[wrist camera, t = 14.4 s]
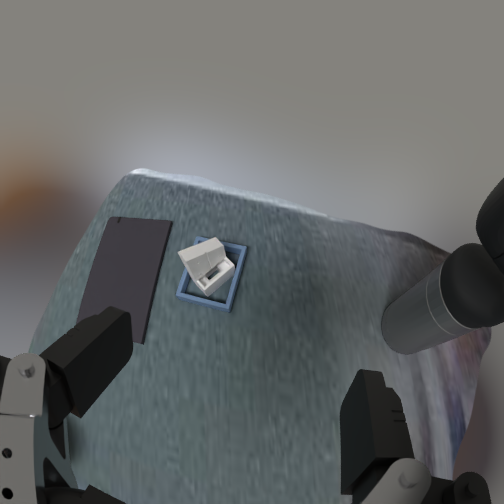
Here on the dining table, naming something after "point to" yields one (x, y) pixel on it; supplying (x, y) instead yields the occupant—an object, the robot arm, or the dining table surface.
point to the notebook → (127, 270)
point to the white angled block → (207, 264)
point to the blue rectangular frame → (227, 307)
